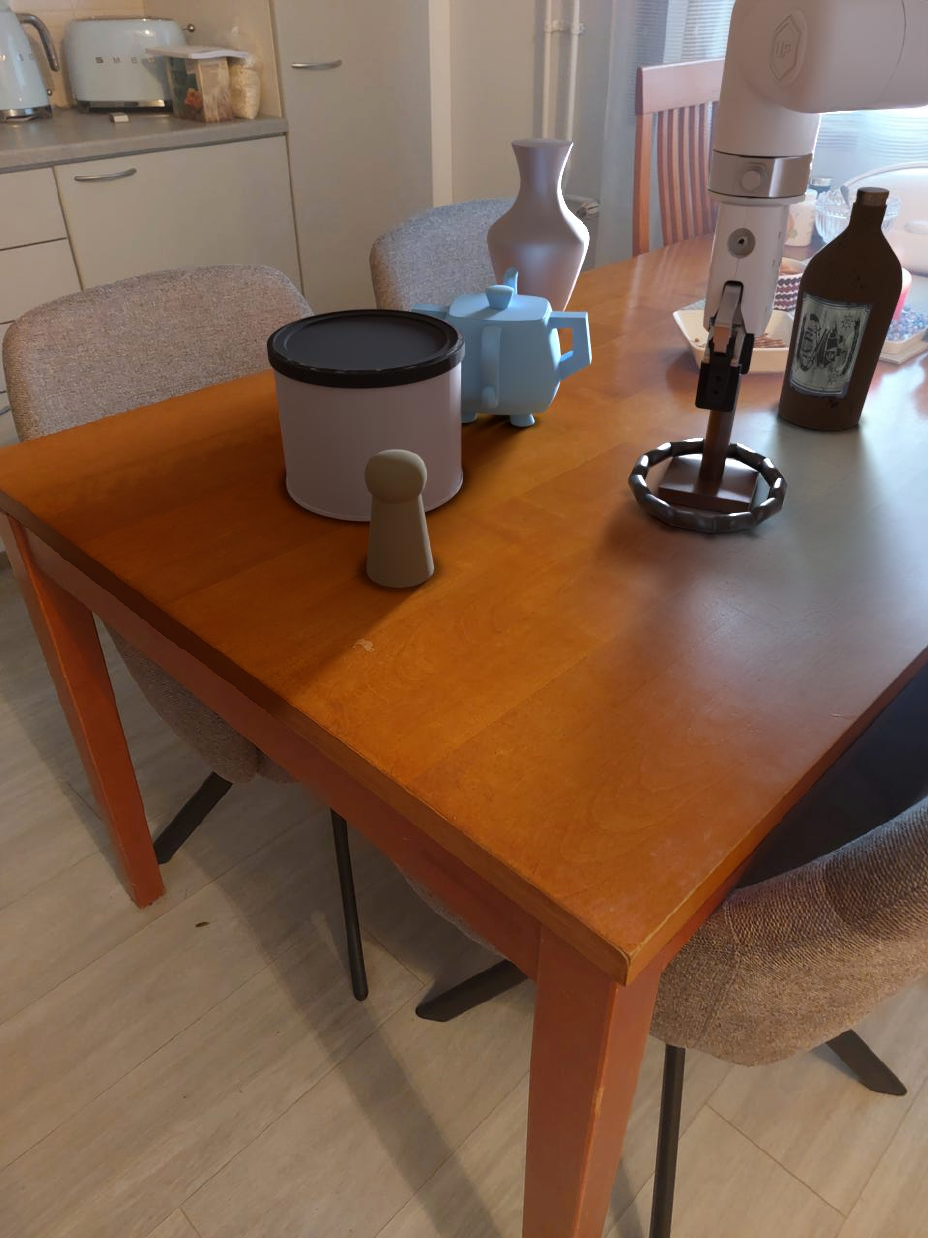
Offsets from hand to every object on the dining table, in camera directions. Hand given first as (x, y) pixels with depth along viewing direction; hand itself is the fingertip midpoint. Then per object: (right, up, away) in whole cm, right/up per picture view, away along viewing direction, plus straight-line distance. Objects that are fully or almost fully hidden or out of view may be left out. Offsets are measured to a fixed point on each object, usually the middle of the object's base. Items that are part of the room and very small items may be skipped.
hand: (722, 389), depth 79 cm
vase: (-13, +23, +55) cm, 61 cm away
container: (-32, -6, +15) cm, 36 cm away
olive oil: (+20, +4, +29) cm, 35 cm away
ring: (+1, -7, +11) cm, 13 cm away
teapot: (-19, +6, +32) cm, 37 cm away
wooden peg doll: (-29, -16, +1) cm, 33 cm away
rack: (+2, -7, +13) cm, 15 cm away
